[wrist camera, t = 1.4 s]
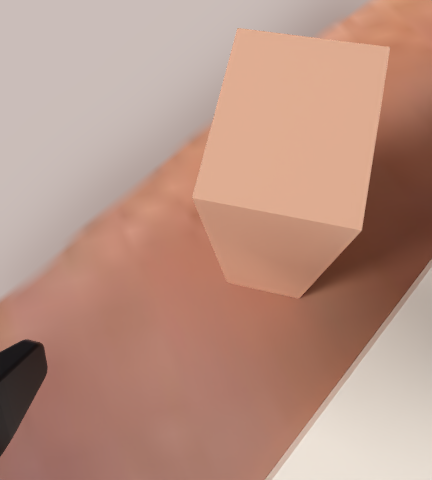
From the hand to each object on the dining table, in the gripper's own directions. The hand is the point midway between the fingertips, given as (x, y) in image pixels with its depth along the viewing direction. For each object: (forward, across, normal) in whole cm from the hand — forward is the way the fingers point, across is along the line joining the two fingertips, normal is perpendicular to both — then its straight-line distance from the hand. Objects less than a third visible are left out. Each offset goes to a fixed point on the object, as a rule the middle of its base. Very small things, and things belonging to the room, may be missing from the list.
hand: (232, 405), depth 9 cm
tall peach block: (+14, 0, +4) cm, 14 cm away
